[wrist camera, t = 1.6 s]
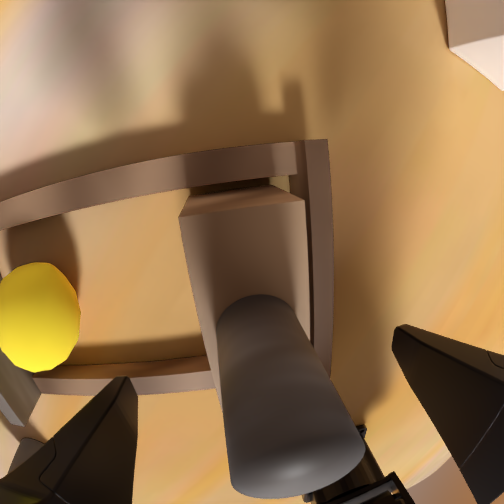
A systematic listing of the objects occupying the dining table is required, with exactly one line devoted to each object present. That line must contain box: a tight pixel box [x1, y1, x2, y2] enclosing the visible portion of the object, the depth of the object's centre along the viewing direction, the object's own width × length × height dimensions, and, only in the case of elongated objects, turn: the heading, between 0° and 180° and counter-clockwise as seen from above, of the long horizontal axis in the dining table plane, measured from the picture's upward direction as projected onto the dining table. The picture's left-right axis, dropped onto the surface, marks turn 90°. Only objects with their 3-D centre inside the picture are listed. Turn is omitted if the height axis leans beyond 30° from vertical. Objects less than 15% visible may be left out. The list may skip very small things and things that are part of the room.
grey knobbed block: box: [178, 185, 365, 499], centre depth 10 cm, size 4×9×11 cm, turn 6°
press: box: [0, 139, 334, 427], centre depth 13 cm, size 21×13×5 cm, turn 96°
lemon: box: [0, 262, 81, 372], centre depth 12 cm, size 7×5×5 cm
